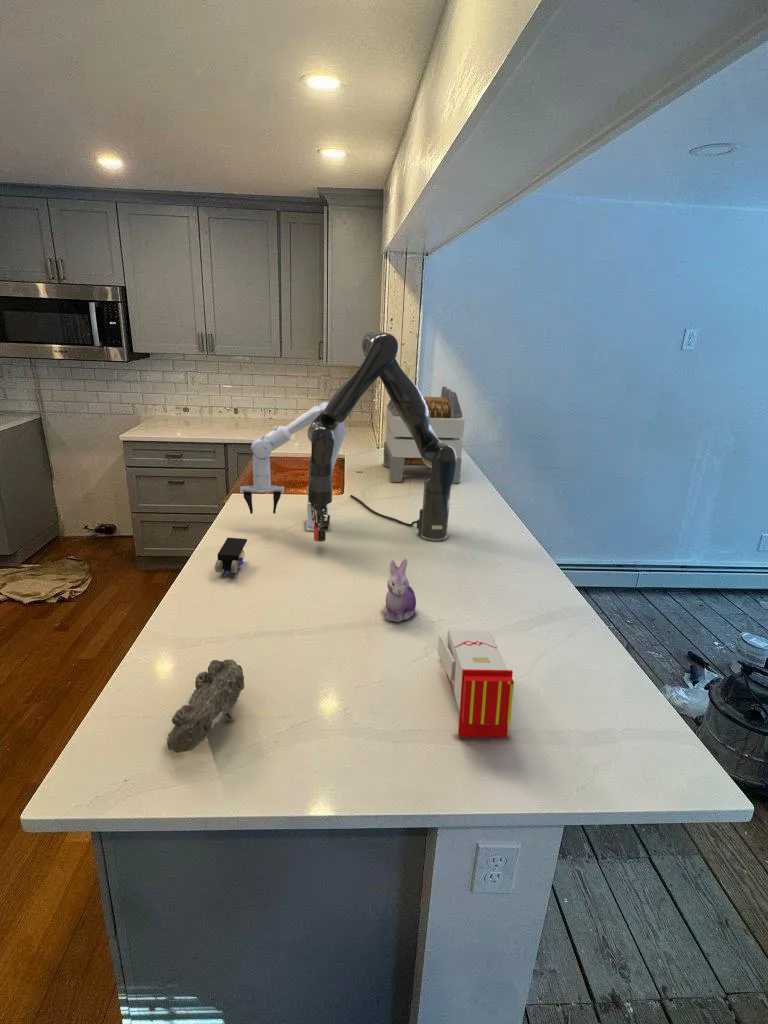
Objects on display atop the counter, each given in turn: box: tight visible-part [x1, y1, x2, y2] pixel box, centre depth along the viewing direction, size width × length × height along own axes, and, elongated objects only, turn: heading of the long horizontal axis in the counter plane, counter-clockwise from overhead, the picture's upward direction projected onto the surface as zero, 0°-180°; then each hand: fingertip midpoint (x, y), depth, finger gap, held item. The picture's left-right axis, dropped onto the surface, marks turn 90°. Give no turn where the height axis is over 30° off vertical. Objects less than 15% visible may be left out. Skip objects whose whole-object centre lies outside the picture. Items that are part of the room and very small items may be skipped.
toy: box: [437, 628, 515, 738], centre depth 117 cm, size 12×13×30 cm
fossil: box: [166, 658, 245, 754], centre depth 106 cm, size 22×10×15 cm
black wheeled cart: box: [214, 537, 248, 578], centre depth 166 cm, size 7×8×15 cm
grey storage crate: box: [383, 386, 465, 484], centre depth 268 cm, size 34×33×41 cm
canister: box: [313, 524, 327, 543], centre depth 182 cm, size 4×4×5 cm
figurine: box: [384, 558, 417, 623], centre depth 145 cm, size 9×10×15 cm
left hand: (263, 512), depth 195 cm, fingers open, 7 cm apart
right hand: (319, 537), depth 182 cm, fingers closed on canister, 3 cm apart
